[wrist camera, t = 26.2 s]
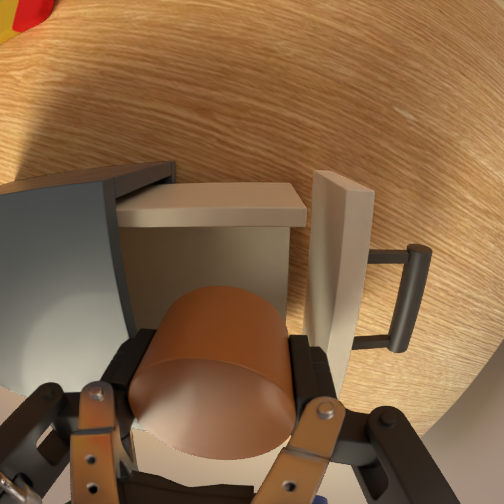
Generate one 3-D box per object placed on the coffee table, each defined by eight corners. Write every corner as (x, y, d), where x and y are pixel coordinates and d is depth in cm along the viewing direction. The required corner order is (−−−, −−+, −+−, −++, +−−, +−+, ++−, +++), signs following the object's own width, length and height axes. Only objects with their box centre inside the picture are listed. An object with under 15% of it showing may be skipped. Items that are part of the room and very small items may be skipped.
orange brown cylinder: (285, 387, 14) (289, 461, 10) (172, 381, 14) (148, 450, 10) (293, 285, 12) (305, 359, 8) (153, 283, 12) (107, 347, 8)
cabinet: (175, 160, 19) (102, 180, 10) (191, 340, 24) (160, 434, 15) (13, 181, 20) (-69, 210, 10) (45, 323, 25) (-9, 382, 15)
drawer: (401, 176, 18) (471, 200, 10) (374, 341, 22) (406, 412, 15) (110, 175, 19) (36, 199, 11) (136, 337, 23) (98, 404, 16)
